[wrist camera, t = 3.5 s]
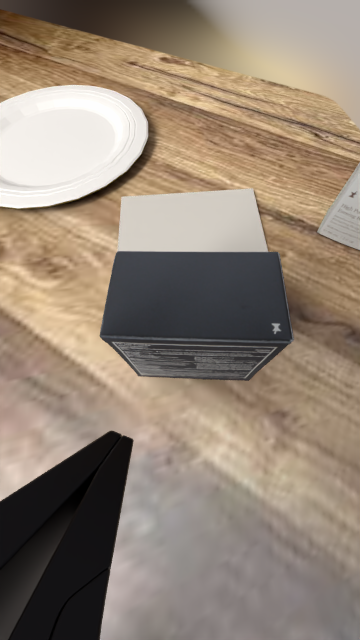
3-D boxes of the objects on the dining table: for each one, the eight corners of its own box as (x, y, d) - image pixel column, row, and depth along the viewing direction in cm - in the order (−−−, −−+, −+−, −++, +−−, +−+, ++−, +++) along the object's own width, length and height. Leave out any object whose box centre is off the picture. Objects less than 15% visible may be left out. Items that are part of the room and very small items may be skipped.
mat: (277, 299, 25) (279, 297, 24) (114, 308, 25) (113, 306, 25) (251, 192, 31) (252, 188, 31) (122, 200, 32) (121, 196, 31)
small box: (246, 316, 24) (283, 245, 15) (251, 382, 22) (300, 347, 12) (143, 314, 25) (114, 244, 15) (136, 377, 22) (95, 341, 13)
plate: (58, 82, 45) (52, 68, 44) (187, 128, 38) (187, 114, 36) (-81, 170, 36) (-95, 157, 34) (54, 253, 29) (45, 242, 27)
